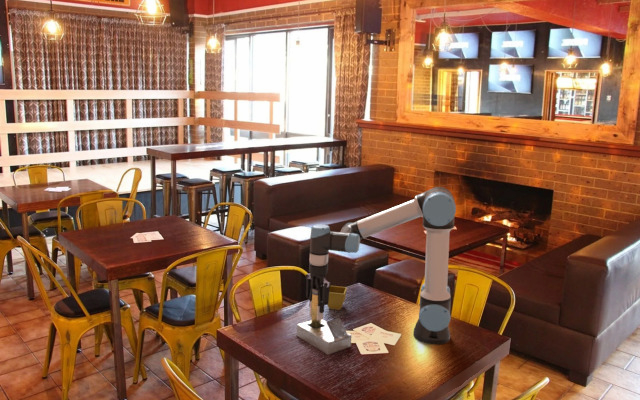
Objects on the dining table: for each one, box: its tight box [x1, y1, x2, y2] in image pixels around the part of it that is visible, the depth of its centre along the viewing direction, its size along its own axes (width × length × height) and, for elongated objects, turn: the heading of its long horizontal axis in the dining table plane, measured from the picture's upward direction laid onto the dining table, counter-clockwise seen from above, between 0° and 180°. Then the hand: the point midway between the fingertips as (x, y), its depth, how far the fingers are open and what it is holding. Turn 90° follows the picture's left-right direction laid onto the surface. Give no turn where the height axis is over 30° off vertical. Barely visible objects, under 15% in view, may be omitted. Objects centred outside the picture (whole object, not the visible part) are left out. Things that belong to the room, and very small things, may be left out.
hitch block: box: [296, 318, 353, 355], centre depth 230 cm, size 20×12×5 cm, turn 40°
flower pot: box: [327, 285, 348, 311], centre depth 264 cm, size 9×9×9 cm
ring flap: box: [326, 317, 349, 342], centre depth 222 cm, size 9×7×1 cm
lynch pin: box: [310, 288, 321, 328], centre depth 231 cm, size 4×4×16 cm
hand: (316, 317), depth 232 cm, fingers closed on lynch pin, 4 cm apart
